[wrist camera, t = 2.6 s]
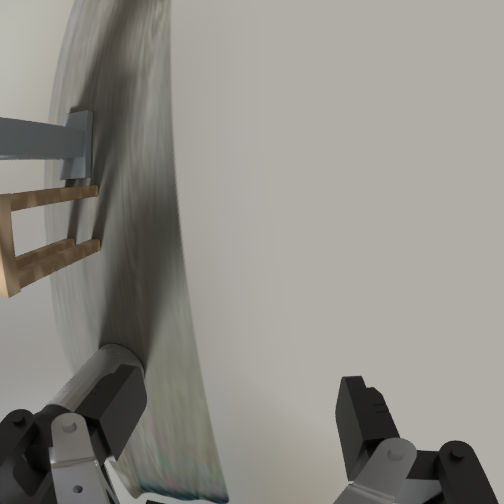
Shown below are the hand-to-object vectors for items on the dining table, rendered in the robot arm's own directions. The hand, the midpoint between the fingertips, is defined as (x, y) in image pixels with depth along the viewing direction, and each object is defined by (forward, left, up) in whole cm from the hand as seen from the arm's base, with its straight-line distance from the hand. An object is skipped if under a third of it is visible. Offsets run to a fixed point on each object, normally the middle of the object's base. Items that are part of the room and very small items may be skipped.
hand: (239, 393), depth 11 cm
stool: (+3, +28, -30) cm, 41 cm away
